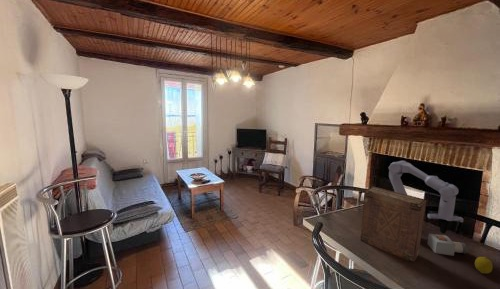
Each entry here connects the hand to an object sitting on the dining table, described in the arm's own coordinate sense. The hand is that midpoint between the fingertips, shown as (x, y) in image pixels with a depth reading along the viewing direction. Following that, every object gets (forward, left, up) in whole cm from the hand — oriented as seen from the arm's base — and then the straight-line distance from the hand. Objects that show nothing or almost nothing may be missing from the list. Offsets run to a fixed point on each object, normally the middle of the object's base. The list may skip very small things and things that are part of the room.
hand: (442, 232), depth 115 cm
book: (-26, -5, -10) cm, 28 cm away
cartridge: (+4, 0, -10) cm, 10 cm away
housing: (0, 0, -10) cm, 10 cm away
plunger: (0, 0, -4) cm, 4 cm away
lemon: (+9, -15, -10) cm, 20 cm away
